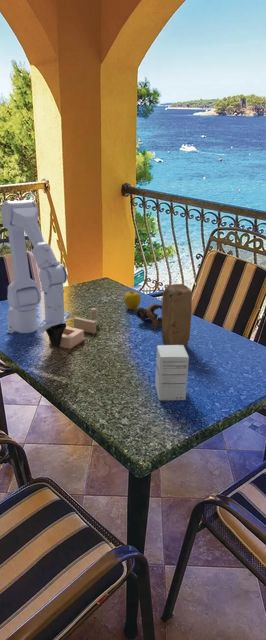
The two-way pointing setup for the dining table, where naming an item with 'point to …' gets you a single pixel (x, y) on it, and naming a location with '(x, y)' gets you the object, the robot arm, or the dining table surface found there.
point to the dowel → (94, 315)
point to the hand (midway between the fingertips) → (55, 345)
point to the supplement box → (171, 372)
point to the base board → (85, 325)
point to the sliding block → (71, 337)
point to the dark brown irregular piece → (150, 314)
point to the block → (176, 314)
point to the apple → (132, 300)
